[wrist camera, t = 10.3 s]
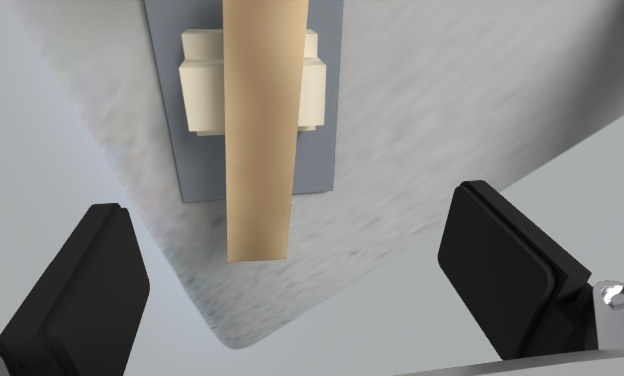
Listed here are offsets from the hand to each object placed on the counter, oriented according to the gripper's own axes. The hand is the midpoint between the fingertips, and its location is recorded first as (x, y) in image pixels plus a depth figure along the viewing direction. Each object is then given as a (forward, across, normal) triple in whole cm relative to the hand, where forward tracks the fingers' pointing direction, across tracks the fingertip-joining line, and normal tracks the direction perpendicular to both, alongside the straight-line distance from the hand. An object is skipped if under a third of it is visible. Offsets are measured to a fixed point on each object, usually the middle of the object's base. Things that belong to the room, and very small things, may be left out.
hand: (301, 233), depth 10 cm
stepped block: (+21, +1, 0) cm, 21 cm away
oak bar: (+15, +1, 0) cm, 15 cm away
